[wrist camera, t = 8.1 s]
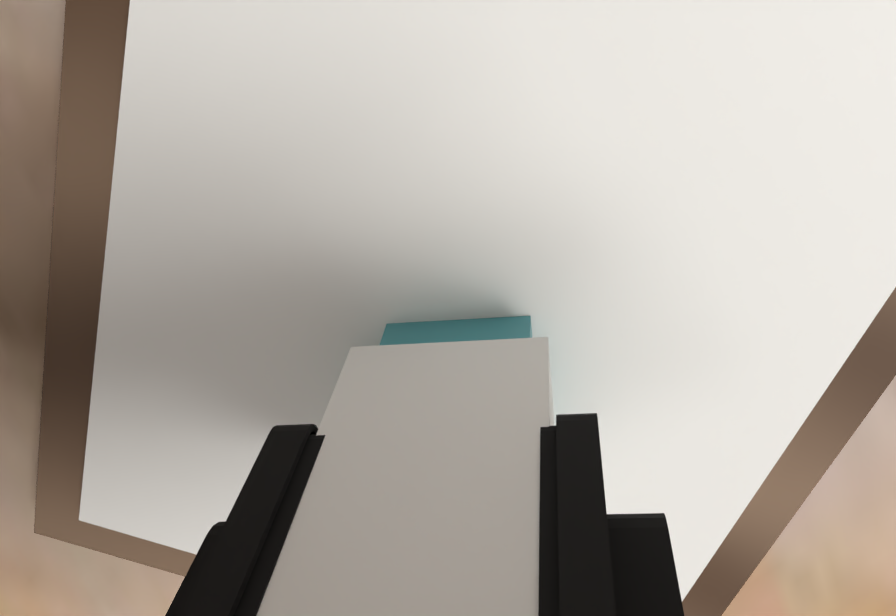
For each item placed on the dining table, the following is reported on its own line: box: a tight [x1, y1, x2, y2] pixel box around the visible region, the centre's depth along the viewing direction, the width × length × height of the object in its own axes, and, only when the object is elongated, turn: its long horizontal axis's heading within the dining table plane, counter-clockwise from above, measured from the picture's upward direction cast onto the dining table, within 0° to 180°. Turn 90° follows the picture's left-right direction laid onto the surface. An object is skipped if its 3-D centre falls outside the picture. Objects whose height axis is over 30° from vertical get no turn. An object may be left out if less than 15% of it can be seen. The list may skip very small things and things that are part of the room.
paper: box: [79, 0, 896, 601], centre depth 12 cm, size 20×12×1 cm, turn 163°
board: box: [34, 0, 896, 616], centre depth 12 cm, size 22×14×1 cm, turn 163°
